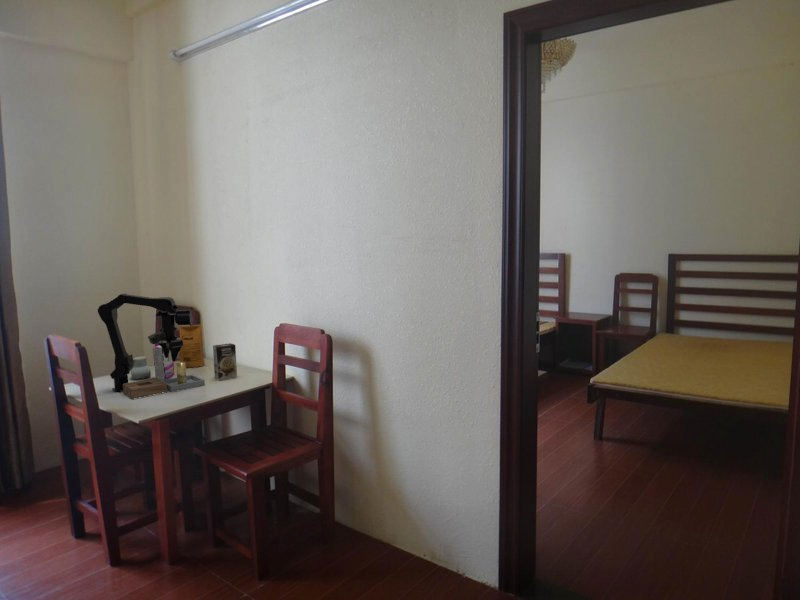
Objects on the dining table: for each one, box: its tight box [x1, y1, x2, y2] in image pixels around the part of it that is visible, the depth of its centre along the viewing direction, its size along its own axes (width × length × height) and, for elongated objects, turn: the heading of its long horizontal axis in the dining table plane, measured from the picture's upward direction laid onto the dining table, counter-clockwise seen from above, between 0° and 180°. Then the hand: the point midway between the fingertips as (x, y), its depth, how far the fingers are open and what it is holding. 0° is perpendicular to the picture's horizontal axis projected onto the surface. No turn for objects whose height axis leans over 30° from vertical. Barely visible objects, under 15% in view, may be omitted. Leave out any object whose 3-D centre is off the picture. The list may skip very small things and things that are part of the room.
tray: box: [161, 374, 206, 393], centre depth 252 cm, size 14×15×2 cm
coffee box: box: [212, 342, 238, 382], centre depth 263 cm, size 9×6×16 cm
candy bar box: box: [152, 344, 175, 380], centre depth 265 cm, size 11×5×16 cm, turn 0°
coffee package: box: [178, 323, 205, 369], centre depth 289 cm, size 10×12×22 cm
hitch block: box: [122, 377, 168, 400], centre depth 242 cm, size 14×14×4 cm
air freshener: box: [130, 356, 152, 380], centre depth 268 cm, size 11×8×10 cm
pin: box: [175, 361, 187, 385], centre depth 252 cm, size 4×4×10 cm
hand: (170, 359), depth 250 cm, fingers open, 9 cm apart
